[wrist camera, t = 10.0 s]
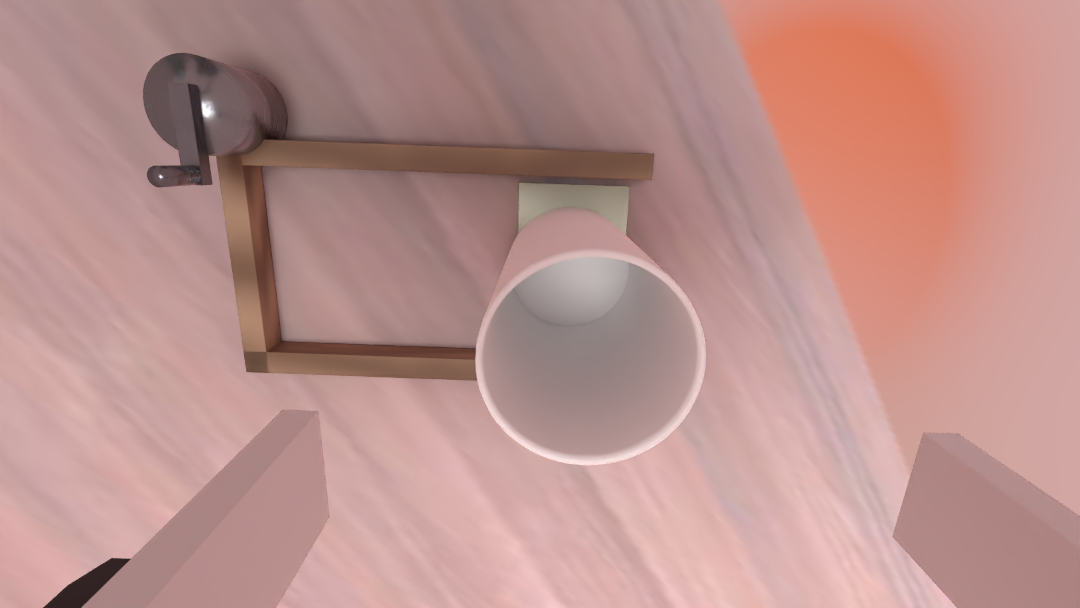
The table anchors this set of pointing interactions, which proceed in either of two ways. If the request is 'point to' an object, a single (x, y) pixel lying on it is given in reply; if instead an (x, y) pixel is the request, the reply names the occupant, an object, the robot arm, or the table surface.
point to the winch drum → (208, 114)
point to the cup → (587, 343)
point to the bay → (247, 189)
